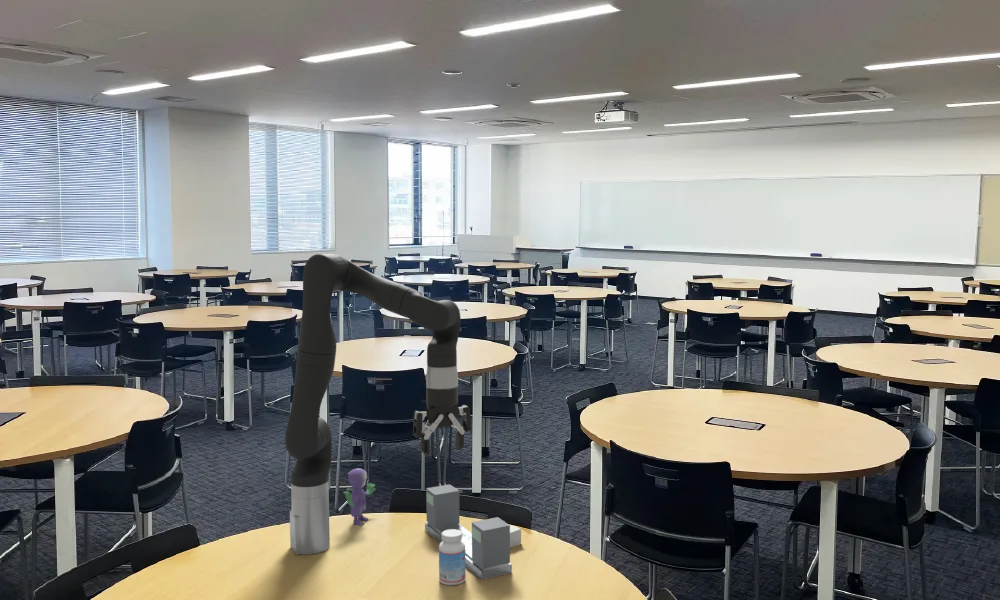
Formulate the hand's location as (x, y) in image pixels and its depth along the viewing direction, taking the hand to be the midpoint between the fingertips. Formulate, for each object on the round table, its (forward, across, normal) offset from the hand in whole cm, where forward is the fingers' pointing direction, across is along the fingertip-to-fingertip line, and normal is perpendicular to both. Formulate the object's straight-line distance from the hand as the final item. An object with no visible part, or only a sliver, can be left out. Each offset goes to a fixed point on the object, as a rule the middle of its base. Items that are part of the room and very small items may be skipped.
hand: (442, 451), depth 176 cm
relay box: (+28, -20, -3) cm, 34 cm away
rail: (+28, -9, -5) cm, 29 cm away
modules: (+25, -8, -5) cm, 27 cm away
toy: (+28, +8, -38) cm, 48 cm away
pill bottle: (+28, +2, +8) cm, 29 cm away
